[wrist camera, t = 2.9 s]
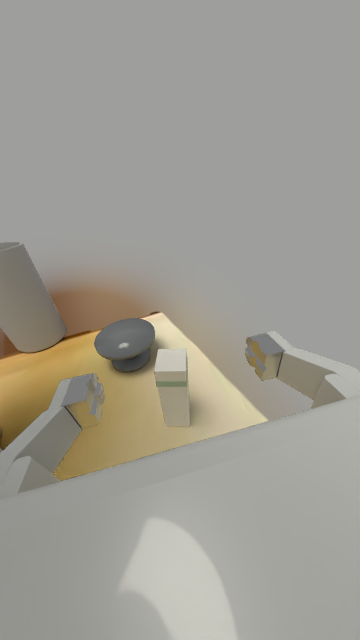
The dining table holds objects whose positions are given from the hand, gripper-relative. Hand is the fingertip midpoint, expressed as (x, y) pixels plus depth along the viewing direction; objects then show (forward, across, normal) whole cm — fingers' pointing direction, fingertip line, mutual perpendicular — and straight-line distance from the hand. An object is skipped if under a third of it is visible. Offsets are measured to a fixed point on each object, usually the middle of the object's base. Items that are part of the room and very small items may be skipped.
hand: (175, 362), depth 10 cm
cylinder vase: (+43, +34, +22) cm, 59 cm away
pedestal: (+28, +9, +23) cm, 38 cm away
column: (+12, +1, +24) cm, 27 cm away
